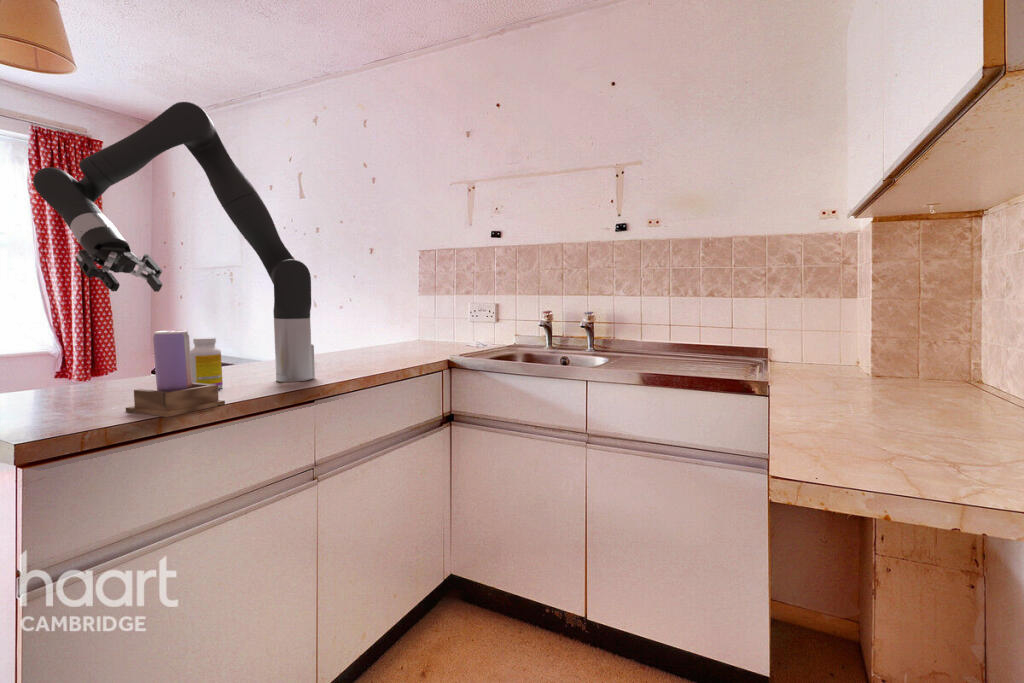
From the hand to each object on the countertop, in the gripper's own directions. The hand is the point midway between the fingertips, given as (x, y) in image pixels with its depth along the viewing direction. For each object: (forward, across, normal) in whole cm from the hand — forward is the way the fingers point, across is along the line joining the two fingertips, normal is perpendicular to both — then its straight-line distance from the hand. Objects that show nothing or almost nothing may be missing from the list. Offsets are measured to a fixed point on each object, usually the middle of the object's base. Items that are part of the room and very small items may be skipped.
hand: (138, 288), depth 104 cm
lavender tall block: (+27, -3, +7) cm, 28 cm away
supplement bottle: (+18, +14, +18) cm, 29 cm away
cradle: (+28, -3, +7) cm, 29 cm away
